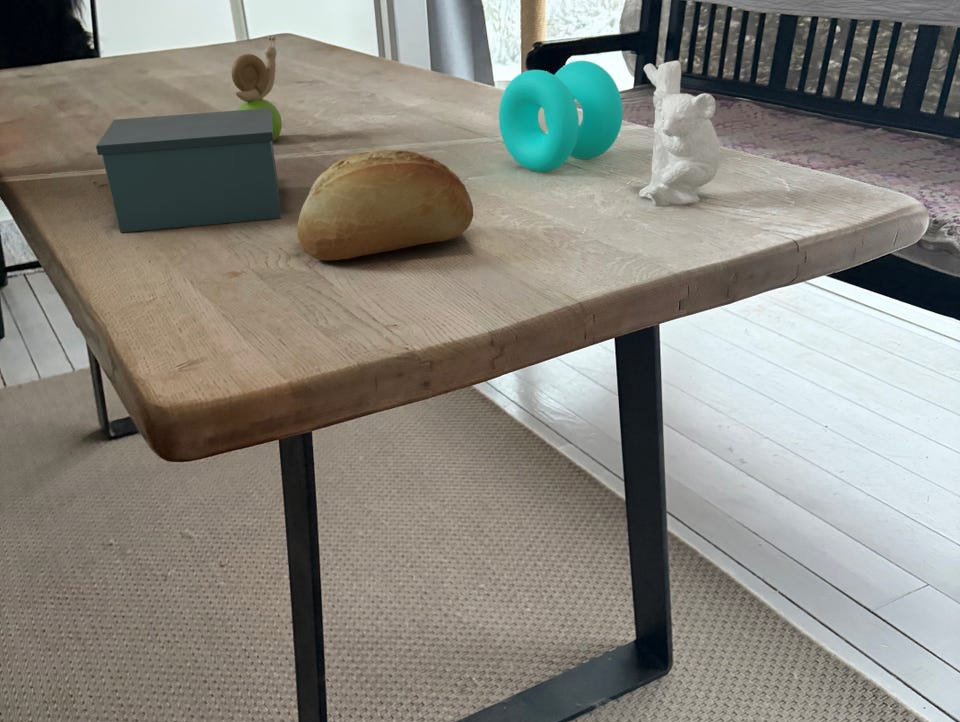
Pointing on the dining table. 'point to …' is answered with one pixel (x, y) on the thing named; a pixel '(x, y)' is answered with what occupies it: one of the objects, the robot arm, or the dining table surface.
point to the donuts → (560, 115)
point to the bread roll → (382, 205)
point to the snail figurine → (257, 83)
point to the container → (191, 169)
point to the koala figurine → (680, 139)
